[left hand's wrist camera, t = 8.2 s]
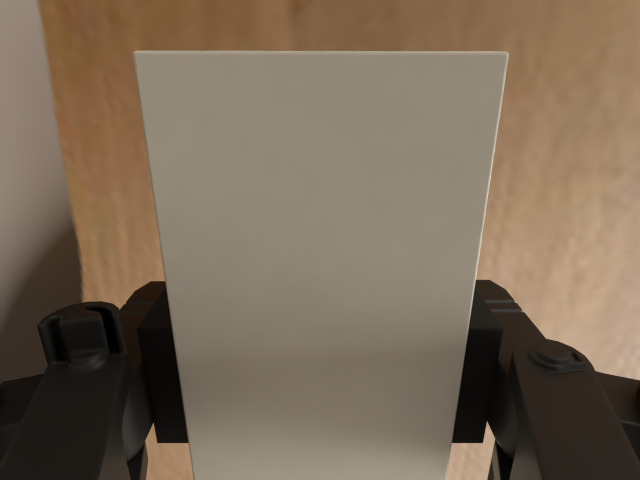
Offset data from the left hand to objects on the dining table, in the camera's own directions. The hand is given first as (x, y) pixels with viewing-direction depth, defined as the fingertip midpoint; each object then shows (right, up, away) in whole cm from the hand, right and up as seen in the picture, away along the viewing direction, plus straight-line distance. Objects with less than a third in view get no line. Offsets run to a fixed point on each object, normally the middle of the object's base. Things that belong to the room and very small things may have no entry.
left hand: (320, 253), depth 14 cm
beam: (0, -29, +12) cm, 32 cm away
